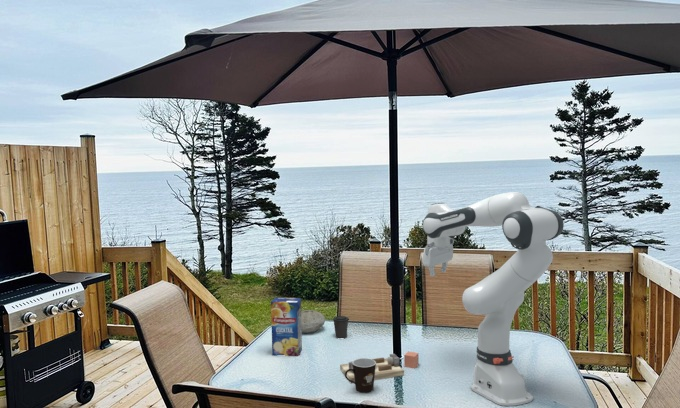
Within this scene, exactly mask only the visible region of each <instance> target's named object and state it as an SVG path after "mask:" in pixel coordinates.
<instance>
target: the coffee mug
mask: <svg viewBox="0 0 680 408" xmlns="http://www.w3.org/2000/svg"><path fill="white" fill-rule="evenodd" d="M372 359H373V358H367V357H364V358H362V357H361V358H356V359H354V360H352V361H353V369H348V370H347V371H346V372H345V375H344V377H345V379H346V380H347V381H348V382H349V383H350V382H352V383H351V384H355V385H354V386H355V390H356V391H357V393H358V392H359V393H363V394H369V393H371V392H373V391H374V384H375V380H374V377H375V367H376V362H375V361H374V360H372ZM348 371H353V372H354V378H355V382H354V381H351V380H349V379H348V378H347V372H348Z"/></svg>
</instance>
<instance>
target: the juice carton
mask: <svg viewBox="0 0 680 408" xmlns="http://www.w3.org/2000/svg"><path fill="white" fill-rule="evenodd" d="M301 311H302V298H300V297H299V298H298V297H275V298H273V299H272V300H271V301H270V314H271V315H270V316H271V317H270V319H271V321H270V322H271V356H277V355H285V356H284V357H299V356H300V354H301V352H302V351H303V335H302V333H303V332H302V328H301Z"/></svg>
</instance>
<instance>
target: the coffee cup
mask: <svg viewBox="0 0 680 408" xmlns="http://www.w3.org/2000/svg"><path fill="white" fill-rule="evenodd" d="M349 320H350V319H349V317H348V316H345V315H344V316H343V315H339V316H335V317H333V318H332V321H333V326H334V334H335V339H338V338H344V339H346V338H347V337H348V325H349Z"/></svg>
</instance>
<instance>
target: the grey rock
mask: <svg viewBox="0 0 680 408" xmlns="http://www.w3.org/2000/svg"><path fill="white" fill-rule="evenodd" d="M325 319H326V318H325V315H324V314H323V313H322V312H320V311H318V310H315V309H313V310H311V309H304V310H301V328H302V333H305V334H307V333H309V334H310V333H312V332H317V331H318V330H320V329H321V328H322V327H323V326H324V325H325V322H326V320H325Z"/></svg>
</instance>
